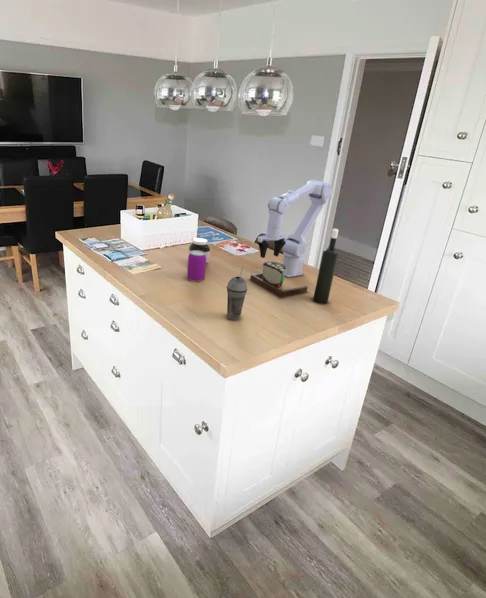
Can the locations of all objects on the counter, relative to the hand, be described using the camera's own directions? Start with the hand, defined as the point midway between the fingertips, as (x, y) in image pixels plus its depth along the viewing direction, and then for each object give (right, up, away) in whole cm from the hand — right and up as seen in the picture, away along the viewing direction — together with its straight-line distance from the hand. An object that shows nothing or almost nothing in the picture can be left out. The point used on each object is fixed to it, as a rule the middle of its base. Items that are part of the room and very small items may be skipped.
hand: (269, 256), depth 184 cm
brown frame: (+3, -13, -3) cm, 14 cm away
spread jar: (-32, -3, +14) cm, 35 cm away
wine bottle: (+18, -20, -14) cm, 30 cm away
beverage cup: (-19, -26, -33) cm, 46 cm away
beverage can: (-32, -10, -2) cm, 34 cm away
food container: (+2, -14, -4) cm, 14 cm away
